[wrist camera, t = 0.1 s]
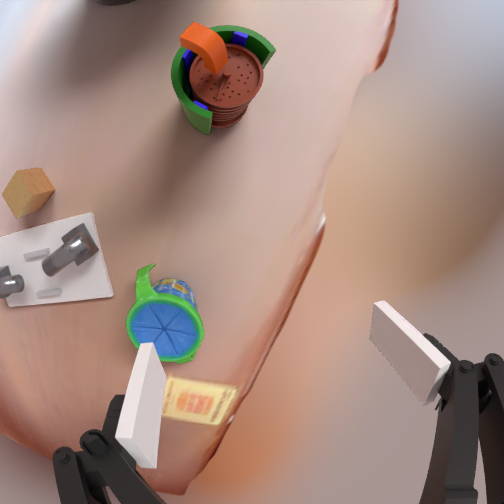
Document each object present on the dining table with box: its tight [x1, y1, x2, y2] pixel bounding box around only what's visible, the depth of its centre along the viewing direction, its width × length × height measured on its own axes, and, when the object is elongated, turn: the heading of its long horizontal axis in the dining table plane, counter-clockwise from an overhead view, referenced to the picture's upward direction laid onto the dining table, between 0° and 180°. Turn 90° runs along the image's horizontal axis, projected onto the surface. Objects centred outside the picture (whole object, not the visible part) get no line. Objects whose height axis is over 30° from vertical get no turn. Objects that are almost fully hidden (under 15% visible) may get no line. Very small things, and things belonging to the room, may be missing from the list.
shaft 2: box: [42, 223, 99, 277], centre depth 35 cm, size 9×5×6 cm, turn 116°
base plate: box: [0, 212, 114, 307], centre depth 37 cm, size 14×27×2 cm, turn 96°
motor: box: [171, 22, 276, 135], centre depth 26 cm, size 10×9×20 cm
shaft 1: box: [0, 266, 25, 298], centre depth 34 cm, size 10×5×6 cm, turn 96°
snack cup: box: [126, 263, 204, 364], centre depth 39 cm, size 16×10×10 cm
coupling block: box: [2, 168, 55, 219], centre depth 31 cm, size 5×5×7 cm
